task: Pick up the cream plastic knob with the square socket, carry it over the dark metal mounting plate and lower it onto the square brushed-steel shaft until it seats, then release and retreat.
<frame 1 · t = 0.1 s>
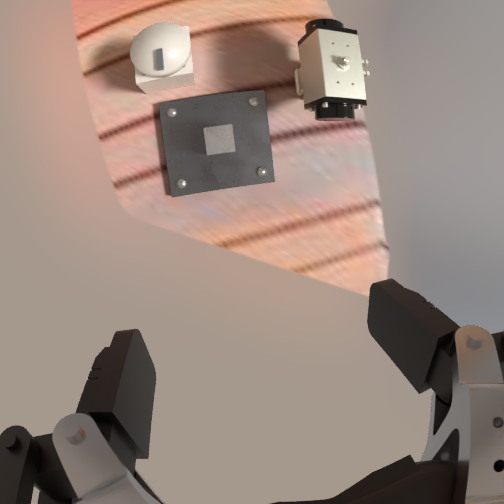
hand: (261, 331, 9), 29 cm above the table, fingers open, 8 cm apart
knob: (168, 67, 29), on the table
shaft mount: (217, 141, 34), on the table
pneumatic valve: (308, 83, 33), on the table
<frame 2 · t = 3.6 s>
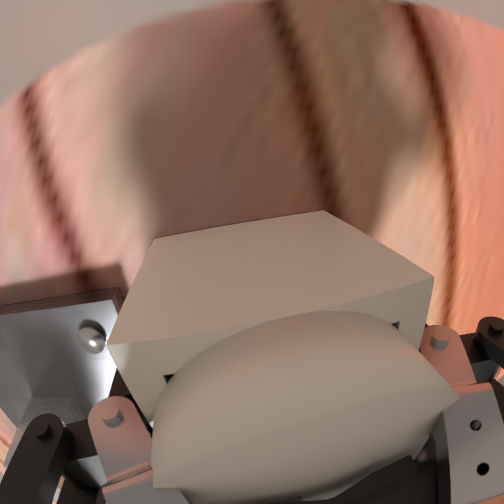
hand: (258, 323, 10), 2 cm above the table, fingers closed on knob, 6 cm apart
knob: (251, 299, 11), on the table, touching gripper
shaft mount: (69, 403, 12), on the table
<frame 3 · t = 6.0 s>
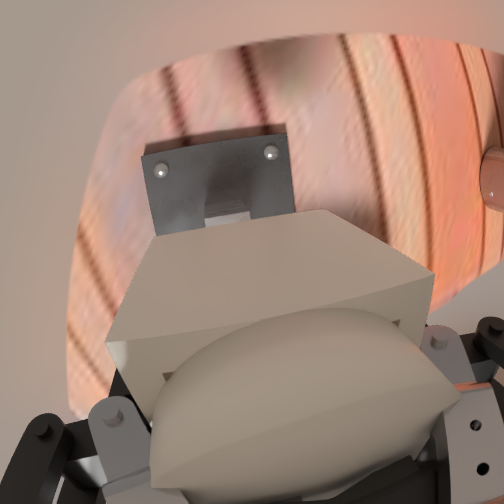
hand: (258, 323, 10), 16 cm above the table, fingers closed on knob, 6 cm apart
knob: (251, 298, 11), point 15 cm above the table, touching gripper
shaft mount: (224, 216, 25), on the table
when the fingers open (4 cm above the table, at t = 8.9 s): knob drops 1 cm, resting on shaft mount.
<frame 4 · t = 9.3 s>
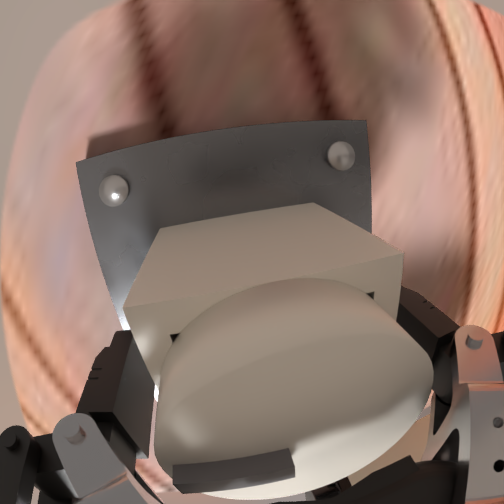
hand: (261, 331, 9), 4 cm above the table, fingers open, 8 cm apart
knob: (248, 284, 12), point 1 cm above the table, touching shaft mount
shaft mount: (243, 276, 13), on the table
pneumatic valve: (356, 405, 19), on the table
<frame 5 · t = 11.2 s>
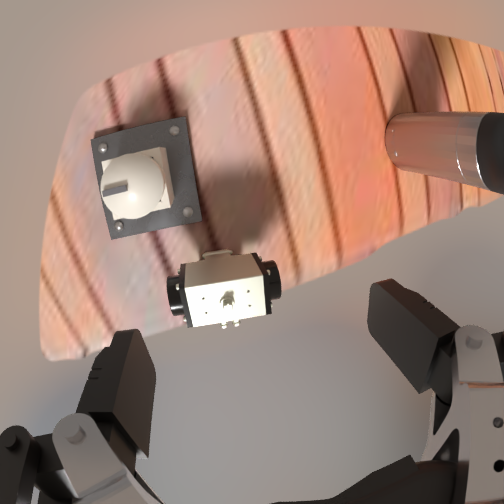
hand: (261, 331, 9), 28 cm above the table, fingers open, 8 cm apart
knob: (145, 178, 32), point 1 cm above the table, touching shaft mount
shaft mount: (145, 178, 33), on the table
pneumatic valve: (218, 264, 39), on the table
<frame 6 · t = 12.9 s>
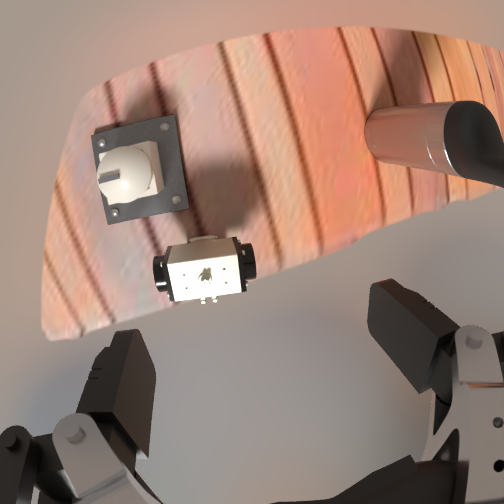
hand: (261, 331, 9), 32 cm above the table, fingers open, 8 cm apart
knob: (138, 169, 35), point 1 cm above the table, touching shaft mount
shaft mount: (139, 169, 36), on the table
pneumatic valve: (204, 248, 42), on the table
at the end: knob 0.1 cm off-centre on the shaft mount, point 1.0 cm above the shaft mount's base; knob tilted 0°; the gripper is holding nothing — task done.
